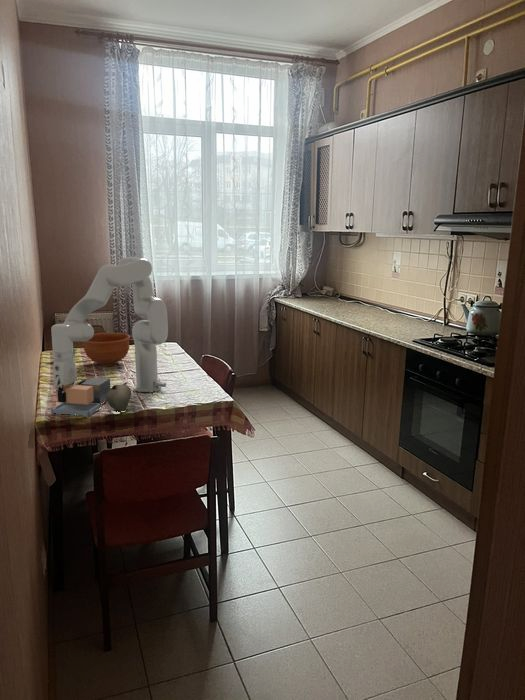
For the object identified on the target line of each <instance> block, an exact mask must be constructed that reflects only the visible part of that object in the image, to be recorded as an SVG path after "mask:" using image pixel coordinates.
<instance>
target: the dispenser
mask: <svg viewBox="0 0 525 700" xmlns="http://www.w3.org/2000/svg"><path fill="white" fill-rule="evenodd" d="M74 385H82V386H93V396H94V401H92V402H91V403H99V404H101V403H103V402H104V401H106V395H107V393H108V391H109V390H110V389H111V388H112V386H111V378H107V377H105V378H104V377H91V378H90V379H88V378H83V379H82V380H80V381H78V382H76V383H74ZM106 402H107V401H106ZM103 404H104V403H103Z"/></svg>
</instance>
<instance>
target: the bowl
mask: <svg viewBox="0 0 525 700" xmlns="http://www.w3.org/2000/svg"><path fill="white" fill-rule="evenodd" d="M130 339H131V335H130V334H128V333H125V332H124V333H123V332H99V333H94V335H93V337H92V338H91V339H89V340H87V341H82V342H83V345H84V348H83V350H84V353H85V355H86V356H87V358H88V359H90V360H91V361H92V362H95V363H97V364H100V366H103V367H107V366H108V367H109V366H115V365H116V363H118V362H120V361H121V360H122V361H123V359H125V358H126V357H127V355H128V353H129V350H130Z"/></svg>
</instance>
